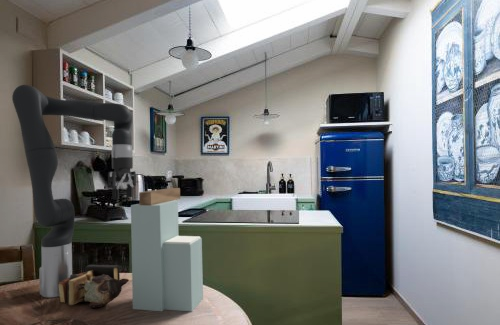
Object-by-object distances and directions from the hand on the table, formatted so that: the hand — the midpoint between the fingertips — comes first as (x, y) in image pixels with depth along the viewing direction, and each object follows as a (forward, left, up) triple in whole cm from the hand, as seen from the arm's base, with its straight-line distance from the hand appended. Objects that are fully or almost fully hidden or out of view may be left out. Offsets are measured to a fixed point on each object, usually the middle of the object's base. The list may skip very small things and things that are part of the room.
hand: (122, 198), depth 121 cm
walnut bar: (+23, -11, 0) cm, 25 cm away
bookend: (+3, -18, -33) cm, 37 cm away
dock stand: (+27, -15, -32) cm, 45 cm away
